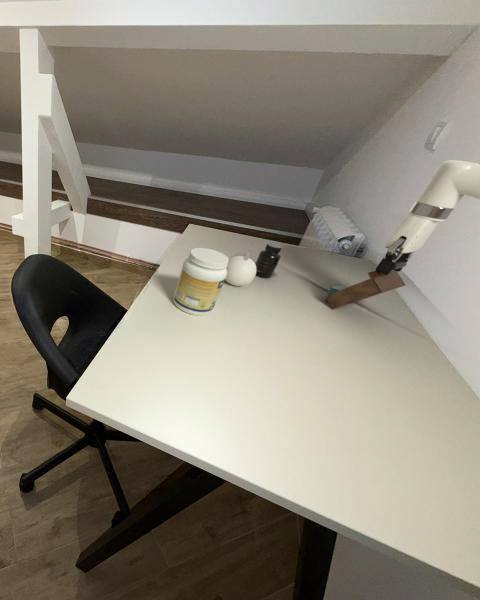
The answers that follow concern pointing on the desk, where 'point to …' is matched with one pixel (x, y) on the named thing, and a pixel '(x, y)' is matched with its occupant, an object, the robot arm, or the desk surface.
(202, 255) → the supplement tub
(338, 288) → the block
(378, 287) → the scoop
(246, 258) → the ornament
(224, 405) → the desk surface
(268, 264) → the supplement bottle
